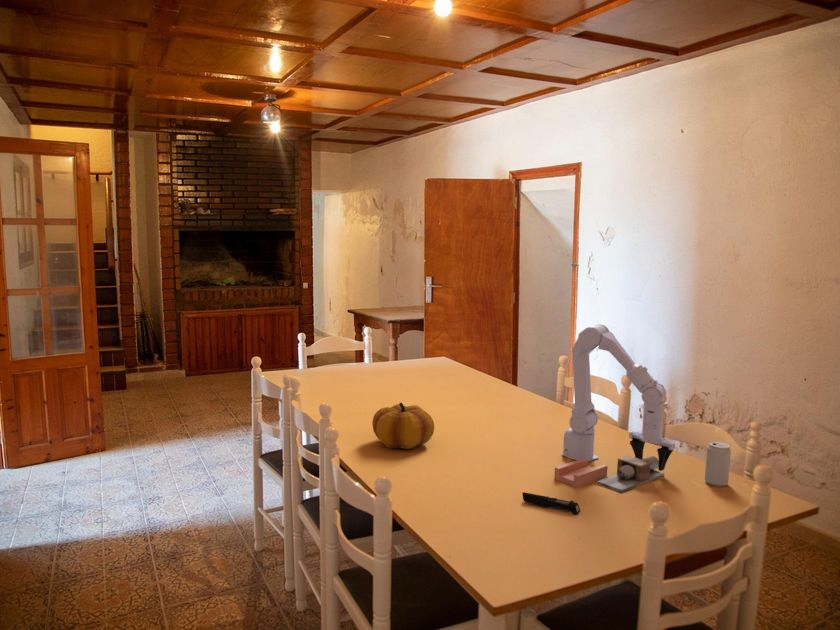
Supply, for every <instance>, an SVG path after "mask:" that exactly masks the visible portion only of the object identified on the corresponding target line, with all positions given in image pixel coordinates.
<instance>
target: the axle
mask: <svg viewBox="0 0 840 630" xmlns="http://www.w3.org/2000/svg"><path fill="white" fill-rule="evenodd" d="M642 460H645V461H648V462H650V471H652V470H656V469H658V465H659V458H657V457H656V456H655V455H651V456H648V457H645V458H643V459H642ZM616 474H618V476H619V478H620V479H621V480H628V479H630V478H633V477H636V466H635V465H632V464H627V465H625V466H622V467H619V468H618V470H617V469H616Z"/></svg>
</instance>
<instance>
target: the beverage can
mask: <svg viewBox="0 0 840 630" xmlns="http://www.w3.org/2000/svg"><path fill="white" fill-rule="evenodd" d="M730 446H731V445H729V444H728V443H726V442H720V441H710V442H708V445H707V447H706V458H705V459H706V460H705V471H704V481H705V482H706V483H707V485H711V486H713V487H721V488H722V487H725V486H726V485H728V484H729V481H730V480H729V477H730V467H731V454H732V450H731V447H730Z"/></svg>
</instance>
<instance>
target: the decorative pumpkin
mask: <svg viewBox="0 0 840 630" xmlns="http://www.w3.org/2000/svg"><path fill="white" fill-rule="evenodd" d="M372 417H373V418H372V420H371V421H372V422H371V423H372V429H373V432H374V435H375V436H376V438H377V439H378V440H379V441H380V442H381V443H382V444H383V445H385V447H387V448H390V449H398V448H400V449H403V450H410V449H412V448H415V447H418V446H422V445H424V444H427V442H429V441H430V440H431V438H432V437H433V435H434V432H435V431H434V430H435V424H434V423H435V422H434V419H433V417H432V416H431V415H430V414H429V413H428V412H427V411H426V410H424V409H423V408H422V407H421V406H419V405H416V404H413V405H409V406H405V405H404V404H403V402H399V403H397V404H394V405H392V406H391V407H389V406H386V407H382V408H380V409H378V410H377V411H376V412H375V414H374V415H373V416H372Z"/></svg>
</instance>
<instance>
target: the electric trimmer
mask: <svg viewBox="0 0 840 630" xmlns="http://www.w3.org/2000/svg"><path fill="white" fill-rule="evenodd" d="M521 495H522V499H523V501H524V502H526V503H528V504H531V505H535V506H537V507H541V508H543V509H546V508H551V509H555V510H560V511H564V512H568V513H571V514H572V515H574V516H575V515H577V516H578V515H579V514H580V513H581V508H580V505H579V504H578V502H575V501H573V500H570V501H569V500H564V499H559V498H557V497H549V496H547V495H540V494H534V493H529V492H523V491H522V494H521Z"/></svg>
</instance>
